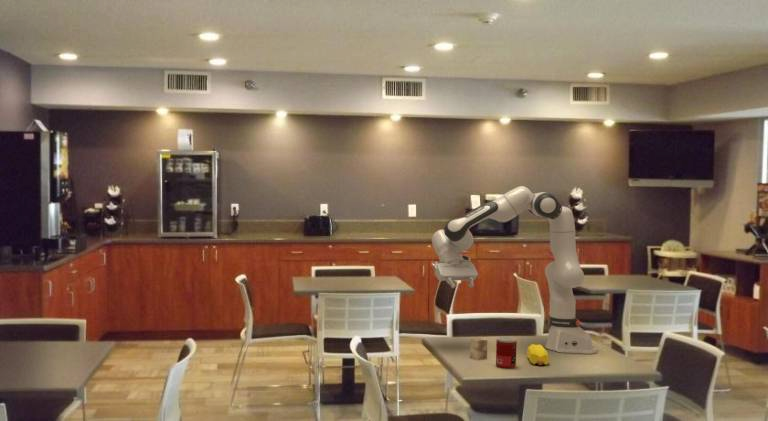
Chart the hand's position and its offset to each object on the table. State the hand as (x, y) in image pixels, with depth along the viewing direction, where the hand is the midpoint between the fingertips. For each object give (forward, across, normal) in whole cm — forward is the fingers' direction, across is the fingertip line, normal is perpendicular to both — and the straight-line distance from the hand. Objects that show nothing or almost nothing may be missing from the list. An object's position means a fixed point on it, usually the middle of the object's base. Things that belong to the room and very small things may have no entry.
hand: (463, 286), depth 325 cm
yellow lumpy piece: (+40, +19, 0) cm, 44 cm away
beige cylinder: (+29, 0, +11) cm, 31 cm away
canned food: (+40, +2, 0) cm, 40 cm away
